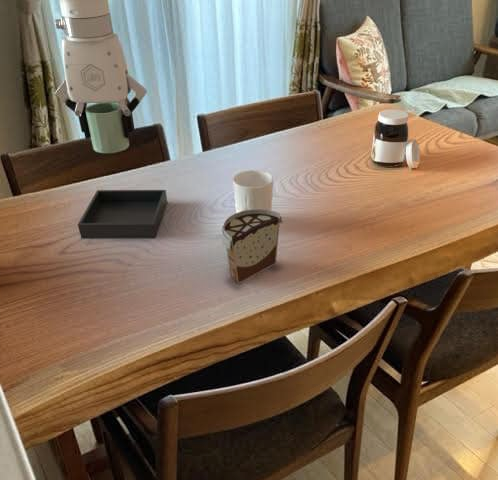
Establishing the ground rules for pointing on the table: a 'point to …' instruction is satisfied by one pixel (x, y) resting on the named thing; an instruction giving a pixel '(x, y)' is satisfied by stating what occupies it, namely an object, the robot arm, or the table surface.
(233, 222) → the food container
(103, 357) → the table surface
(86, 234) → the serving tray
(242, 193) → the white cup
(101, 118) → the green cup
